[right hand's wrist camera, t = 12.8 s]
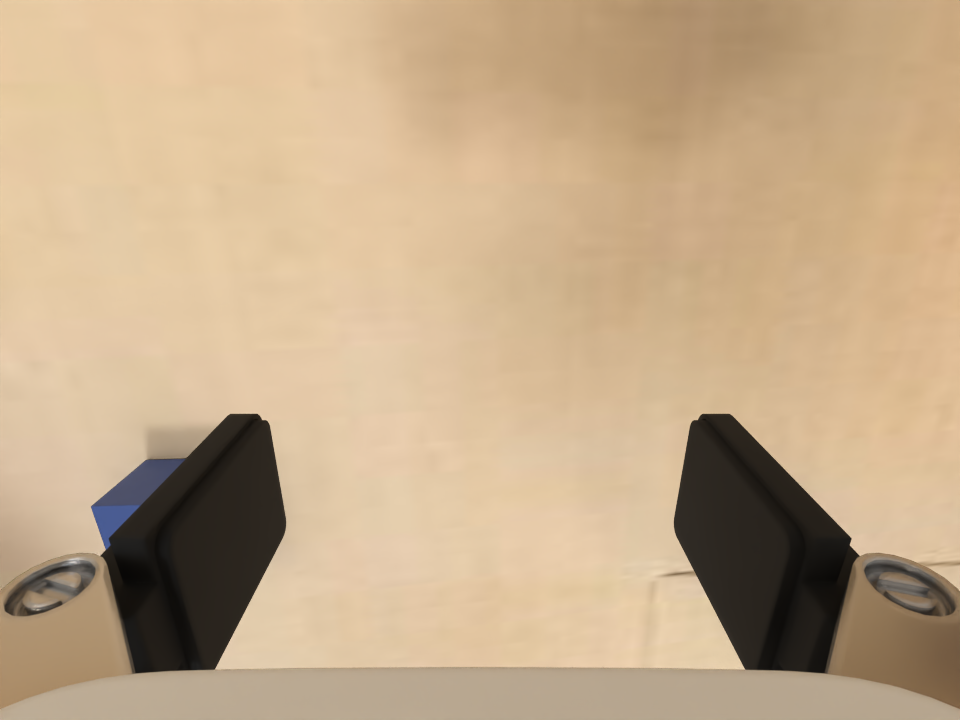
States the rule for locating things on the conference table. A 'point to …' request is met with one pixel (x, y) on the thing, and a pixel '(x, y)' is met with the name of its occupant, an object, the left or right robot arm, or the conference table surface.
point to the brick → (130, 495)
